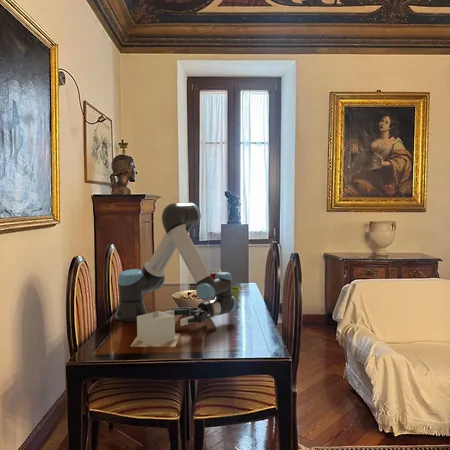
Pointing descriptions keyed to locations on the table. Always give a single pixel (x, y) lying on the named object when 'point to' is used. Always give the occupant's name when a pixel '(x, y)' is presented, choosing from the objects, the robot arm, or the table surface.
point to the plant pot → (235, 292)
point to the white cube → (155, 328)
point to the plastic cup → (213, 272)
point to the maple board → (168, 344)
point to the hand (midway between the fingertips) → (171, 319)
